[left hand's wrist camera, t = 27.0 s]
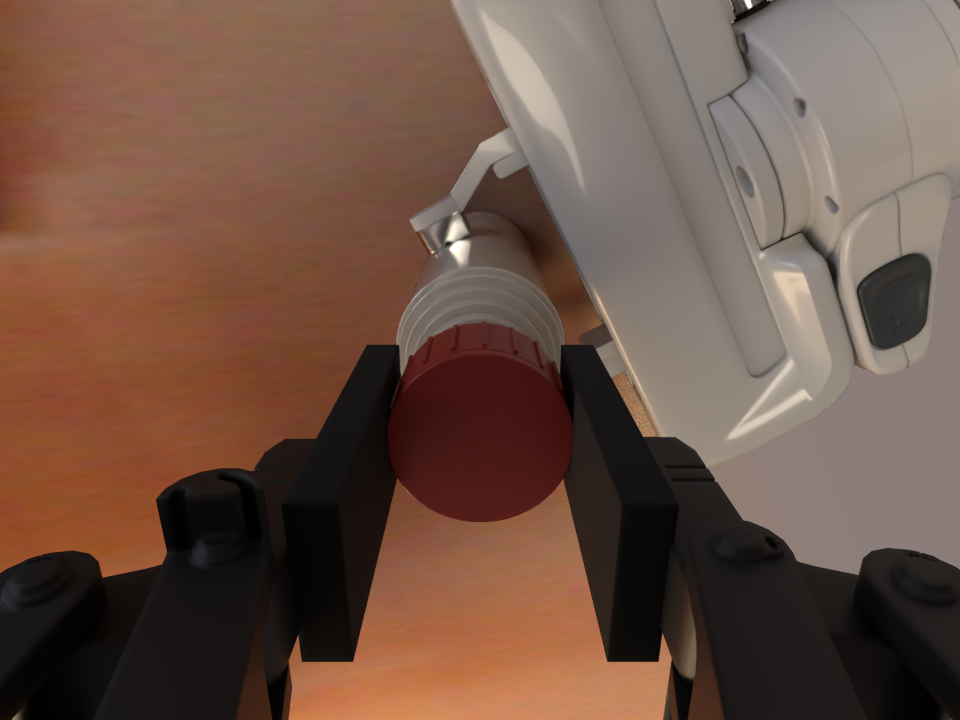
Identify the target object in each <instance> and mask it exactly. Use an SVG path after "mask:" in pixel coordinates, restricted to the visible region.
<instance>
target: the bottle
mask: <svg viewBox="0 0 960 720" xmlns="http://www.w3.org/2000/svg"><path fill="white" fill-rule="evenodd" d="M465 215H466V217H467V219H468V221H469V223H470V225H471V234H469V235H467V236H466V237H464V238H462V239H460V240H458V241H455V242H448V241H447V243H446V245H445V247H444V248H442V249H441V250H439V251H438V252H436V253H433V254H431V255H428V257H427V259H426V262H425V264H424V266H423V268H422V271H421V273H420V275H419V278H418V280H417V282H416V285H415V287H414V289H413V292H412V294H411V296H410V299H409V301H408V303H407V306H406V308H405V310H404V313H403V315H402V317H401V320H400V323H399V326H398V331H397V336H396V345H399V349H400V369H401V375H403V373H404V370H405V368H406V365H407V362H408V359H409V356H410V355H412V356H413V355H414V354H415V353H416V351H417V350H418V349H419V348H420V347H421V346H422V345H423V344H424V343H425V342H426V341H427V340H428V337H430V336H432V337H434V336H435V335H437V334H439V333H441V332H443V331H444V330H447V329H450V328H452V327H453V326H454V325H455V324H457V325H458V326H459V325H464V324H471V323H482V321H486V323H490V324H497V325H502V326H505V327H509V328H510V327H511V326H512V327H514V329H515V330H516V331H518V332H521V333H522V334H524V335H526V336H527V337H529V338H530V339H532V340H533V341H535V340H536V341H538V343H539V346H540V347H541V348H542V349H543V350H544V351H545V352H546V354H547V355H548V357H549V358H550V359H551V361H555V363H556V366H557V369H558V372H559V375H560V357H561V345H565V338H564V331H563V327H562V323H561V320H560V318H559V315H558V313H557V311H556V308H555V306H554V304H553V301H552V299H551V297H550V294H549V292H548V290H547V287H546V285H545V283H544V281H543V278H542V276H541V274H540V271H539V269H538V267H537V264H536V262H535V260H534V257H533V255H532V253H531V250H530V248H529V246H528V243H527V241H526V239H525V237H524V236H523V234H522V233H521V231H520V230H519V229H518V228H517V227H516V226H515V225H514V224H513V223H512V222H510V221H509V220H508V219H506V218H504V217H502V216H500V215H497V214H494V213H490V212H471V213H467V214H465Z"/></svg>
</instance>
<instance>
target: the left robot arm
mask: <svg viewBox="0 0 960 720" xmlns="http://www.w3.org/2000/svg"><path fill="white" fill-rule="evenodd" d="M399 378H400V379H401V369H400V349H399V345H367V346H366V348H365V349H364V351H363V353H362V355H361V357H360V359H359V361H358V362H357V364H356V366H355V368H354V370H353V372H352V374H351V375H350V377H349V379H348V381H347V383H346V385H345V387H344V388H343V390H342V392H341V394H340V396H339V398H338V400H337V402H336V403H335V405H334V407H333V409H332V411H331V413H330V415H329V416H328V418H327V420H326V422H325V424H324V426H323V428H322V429H321V431H320V433H319V435H318V437H317V439H284V440H283V441H281V442H280V443H278V444H277V445H275V446H274V447H272V448H271V449H269V450H268V451H266V452H265V453H264V455H263V456H262V458H261V459H260V461H259V462H258V464H257V465H256V467H255V471H252V472H251V471H247V470H244V469H240V468H220V469H215V470H209V471H204V472H200V473H197V474H194V475H191V476H188V477H186V478H183V479H181V480H179V481H177V482H176V483H174V484H172V485H171V486H169V487H167V488H166V489H165V490H164V491H163V492H162V493H161V494H160V496H159V497H158V498H157V499H156V502H157V507H158V512H159V516H160V521H161V526H162V530H163V535H164V539H165V544H166V549H167V555H166V557H165V560H164V562H163V564H162V565H158V566H155V567H151V568H147V569H143V570H138V571H133V572H128V573H123V574H119V575H114V576H109V577H104V578H103V577H102V574H101V570H100V566H99V562H98V561H97V560H96V559H95V558H94V557H93V556H92V555H90V554H88V553H83V552H78V551H65V552H53V553H48V554H43V555H42V556H36V557H33V558H30V559H27V560H25V561H24V562H22V563H19V564H17V565H15V566H13V567H11V568H8V569H6V570H5V571H3V572H2V573H0V720H288V719H289V710H290V701H291V692H292V683H291V676H290V668H289V658H290V656H291V653H292V650H293V647H294V645H295V642H296V639H297V636H299V643H300V651H301V658H302V662H353V660H354V655H355V651H356V647H357V643H358V639H359V635H360V630H361V626H362V622H363V618H364V614H365V610H366V605H367V601H368V597H369V593H370V589H371V585H372V581H373V576H374V572H375V568H376V564H377V560H378V556H379V551H380V547H381V543H382V539H383V535H384V531H385V527H386V522H387V518H388V514H389V510H390V506H391V502H392V497H393V493H394V489H395V485H396V481H397V476H396V474H395V472H394V470H393V468H392V466H391V463H390V459H389V446H388V427H387V423H388V420H389V416H390V412H391V411H390V405H391V402H392V399H393V396H394V393H395V390H396V387H397V384H398V381H399ZM560 378H561V381H562V384H563V387H564V394H565V397H566V400H567V404H568V407H569V410H570V413H571V416H572V420H573V436H572V453H571V463H570V465H569V468H568V470H567V472H566V474H565V476H564V477H563V479H564V483H565V488H566V492H567V496H568V500H569V504H570V508H571V512H572V517H573V521H574V525H575V529H576V533H577V537H578V542H579V546H580V550H581V554H582V558H583V562H584V566H585V571H586V575H587V579H588V583H589V587H590V591H591V596H592V600H593V604H594V608H595V612H596V616H597V620H598V625H599V629H600V633H601V637H602V641H603V645H604V650H605V654H606V658H607V662H658V661H659V654H660V646H661V639H662V632H663V635H664V638H665V640H666V643H667V646H668V649H669V651H670V654H671V657H672V661H671V668H670V675H669V683H668V690H667V697H666V704H665V711H664V718H663V720H951V719H952V720H960V570H959V569H958V568H956V567H955V566H953V565H950V564H948V563H946V562H944V561H941V560H939V559H937V558H936V557H934V556H931V555H928V554H924V553H919V552H917V551H912V550H905V549H893V548H885V549H880V550H875V551H871V552H870V553H869V554H868V555H867V556H865V557H864V558H863V560H862V564H861V568H860V572H859V575H855V574H850V573H845V572H840V571H835V570H830V569H825V568H821V567H816V566H812V565H808V564H804V563H801V562H798V561H796V559H795V556H794V554H793V552H792V551H791V549H790V548H789V547H788V545H787V544H786V543H785V541H784V540H783V539H781V538H780V537H778V536H777V535H775V534H774V533H773V532H771V531H770V530H768V529H766V528H764V527H761V526H759V525H756V524H754V523H752V522H748V521H744V520H743V519H742V518H741V517H740V515H739V514H738V512H737V511H736V509H735V508H734V506H733V505H732V503H731V502H730V500H729V499H728V497H727V496H726V494H725V493H724V492H723V490H722V489H721V487H720V486H719V484H718V483H717V482H715V478H714V477H713V475H712V474H711V472H710V471H709V469H706V465H705V464H704V462H703V461H702V459H701V458H700V456H699V455H698V453H697V452H696V450H694V449H693V448H691V447H690V446H688V445H687V444H685V443H684V442H682V441H681V440H679V439H678V438H676V437H643V436H642V434H641V432H640V431H639V429H638V427H637V425H636V423H635V421H634V419H633V418H632V416H631V414H630V412H629V410H628V408H627V406H626V404H625V403H624V401H623V399H622V397H621V395H620V393H619V391H618V390H617V388H616V386H615V384H614V382H613V380H612V378H611V377H610V375H609V373H608V371H607V369H606V367H605V365H604V364H603V362H602V360H601V358H600V356H599V354H598V352H597V350H596V349H595V347H594V345H561V357H560Z"/></svg>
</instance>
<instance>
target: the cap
mask: <svg viewBox="0 0 960 720" xmlns="http://www.w3.org/2000/svg"><path fill="white" fill-rule="evenodd" d="M390 411H391V412H390V416H389V420H388V423H387V427H388V446H389V459H390V463H391V466H392V468H393V470H394V472H395V474H396V476H397V478H398V479H399V481H400V482H401V484H402V485H403V487H404V488H405V489H406V490H407V491H408V492H409V493H410V494H411V495H412V496H413V497H414V498H415V499H416V500H417V501H419V502H420V503H421V504H423V505H424V506H426V507H427V508H429V509H431V510H433V511H435V512H437V513H439V514H441V515H444V516H447V517H449V518H453V519H457V520H462V521H469V522H492V521H499V520H504V519H508V518H511V517H514V516H517V515H520V514H522V513H524V512H526V511H528V510H530V509H532V508H533V507H535V506H537V505H538V504H540V503H541V502H542V501H543V500H545V499H546V498H547V497H548V496H549V495H550V494H551V493H552V492H553V491H554V490H555V489H556V487H557V486H558V485H559V483H560V482H561V481H562V479H563V477H564V476H565V474H566V472H567V470H568V468H569V465H570V463H571V453H572V436H573V420H572V416H571V413H570V410H569V407H568V404H567V400H566V397H565V394H564V387H563V384H562V381H561V378H560V375H559V372H558V369H557V366H556V363H555V361H551V359H550V358H549V357H548V355H547V354H546V352H545V351H544V350H543V349H542V348H541V347H540V346H539V343H538V341H536V340H535V341H533V340H532V339H530V338H529V337H527V336H526V335H524V334H522V333H521V332H518V331H516V330H515V329H514V327H512V326H511V327H510V328H509V327H505V326H502V325H497V324H490V323H486V321H482V323H471V324H464V325H459V326H458V325H457V324H455V325H454V326H453V327H452V328H450V329H447V330H444V331H443V332H441V333H439V334H437V335H435V336H434V337H432V336H430V337H428V340H427V341H426V342H425V343H424V344H423V345H422V346H421V347H420V348H419V349H418V350H417V351H416V353H415V354H414V355H413V356H412V355H410V356H409V359H408V362H407V365H406V368H405V370H404V373H403V375H402V378H401V379H400V378H399V381H398V384H397V387H396V390H395V393H394V396H393V399H392V402H391V405H390Z"/></svg>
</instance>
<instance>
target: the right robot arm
mask: <svg viewBox="0 0 960 720" xmlns="http://www.w3.org/2000/svg"><path fill="white" fill-rule="evenodd" d="M450 5H451V8H452V11H453V14H454V16H455V18H456V20H457V23H458V25H459V27H460V29H461V31H462V33H463V35H464V37H465V39H466V41H467V43H468V46H469V48H470V50H471V52H472V54H473V56H474V58H475V60H476V62H477V64H478V66H479V68H480V71H481V73H482V75H483V77H484V79H485V81H486V83H487V85H488V87H489V89H490V91H491V93H492V95H493V98H494V100H495V102H496V104H497V106H498V108H499V110H500V112H501V114H502V116H503V118H504V120H505V123H506V125H507V128H505V129H504V130H502V131H500V132H498V133H497V134H495V135H493V136H491V137H490V138H488V139H486V140H484V141H483V142H481V143H480V144H479V145H478V147H477V149H476V150H475V152H474V154H473V155H472V157H471V159H470V160H469V162H468V164H467V165H466V167H465V169H464V170H463V172H462V174H461V176H460V177H459V179H458V181H457V182H456V184H455V186H454V187H453V189H452V191H451V193H450V195H448V196H446V197H444V198H443V199H441V200H439V201H437V202H435V203H434V204H432V205H430V206H428V207H426V208H424V209H423V210H421V211H419V212H418V213H416V214H415V215H413V216H412V217H411V218H410V219H409V221H410V222H411V224H412V226H413V228H414V230H415V232H416V233H417V235H418V237H419V238H420V240H421V242H422V244H423V245H424V247H425V249H426V250H427V252H428V254H429V255H431V254H433V253H436V252H438V251H439V250H441V249H442V248H444V247H445V245H446V243H447V241H448V242H455V241H458V240H460V239H462V238H464V237H466V236H467V235H469V234H471V225H470V223H469V221H468V219H467V217H466V215H465V214H464V212H463V209H464V208H465V206H466V205H467V203H468V201H469V200H470V198H471V196H472V195H473V193H474V191H475V190H476V188H477V186H478V185H479V183H480V182H481V180H482V178H483V177H484V175H485V173H486V172H487V170H488V168H489V167H490V165H492V167H493V170H494V172H495V173H496V175H497V177H498V178H500V179H503V178H505V177H507V176H509V175H510V174H512V173H514V172H516V171H518V170H520V169H522V168H524V167H526V166H527V168H528V170H529V172H530V175H531V177H532V179H533V181H534V183H535V185H536V187H537V189H538V191H539V193H540V195H541V197H542V199H543V202H544V204H545V206H546V208H547V210H548V212H549V214H550V216H551V218H552V220H553V222H554V224H555V227H556V229H557V231H558V233H559V235H560V237H561V239H562V241H563V243H564V245H565V247H566V249H567V251H568V254H569V256H570V258H571V260H572V262H573V264H574V266H575V268H576V270H577V272H578V274H579V276H580V279H581V281H582V283H583V285H584V287H585V289H586V291H587V293H588V295H589V297H590V299H591V301H592V303H593V306H594V308H595V310H596V312H597V314H598V316H599V318H600V320H601V322H602V325H600V326H598V327H596V328H594V329H592V330H590V331H588V332H586V333H584V334H582V335H580V337H579V341H580V343H581V345H594V347H595V349H596V350H597V352H598V354H599V356H600V358H601V360H602V362H603V364H604V365H605V367H606V369H607V371H608V373H609V375H610V377H611V378H612V377H615V376H617V375H619V374H621V373H623V372H626V374H627V376H628V378H629V380H630V383H631V385H632V387H633V389H634V391H635V393H636V395H637V397H638V399H639V401H640V403H641V405H642V407H643V410H644V412H645V414H646V416H647V418H648V420H649V422H650V424H651V426H652V428H653V430H654V432H655V434H656V436H657V437H676V438H678V439H679V440H681V441H682V442H684V443H685V444H687V445H688V446H690V447H691V448H693V449H694V450H696V452H697V453H698V455H699V456H700V458H701V459H702V461H703V462H704V464H705V465H706V468H707V467H712V466H715V465H718V464H721V463H723V462H726V461H729V460H731V459H733V458H736V457H738V456H740V455H743V454H745V453H747V452H749V451H751V450H753V449H756V448H758V447H760V446H762V445H764V444H766V443H768V442H770V441H772V440H774V439H776V438H778V437H780V436H782V435H784V434H786V433H788V432H790V431H792V430H794V429H795V428H797V427H799V426H801V425H803V424H805V423H806V422H808V421H810V420H812V419H813V418H815V417H817V416H818V415H820V414H821V413H823V412H824V411H826V410H827V409H828V408H829V407H831V406H832V405H833V404H834V403H835V402H836V401H837V400H838V399H839V398H840V397H841V396H842V395H843V393H844V392H845V391H846V389H847V387H848V386H849V384H850V382H851V379H852V376H853V372H854V364H855V365H857V366H858V367H861V368H863V369H865V370H867V371H869V372H872V373H874V374H877V375H889V374H893V373H896V372H899V371H901V370H903V369H906V368H908V367H910V366H912V365H914V364H916V363H917V362H919V361H920V360H921V359H922V358H923V357H924V356H925V355H926V353H927V351H928V349H929V346H930V343H931V337H932V328H933V315H934V303H935V292H936V283H937V275H938V267H939V260H940V254H941V248H942V243H943V237H944V232H945V228H946V224H947V220H948V216H949V212H950V207H951V201H952V200H954V199H956V198H958V197H959V196H960V0H773V1H771V2H770V1H768V2H767V0H450ZM735 16H736V19H735V20H734V23H732V24H731V23H730V21H731V20H733V19H734V18H735Z"/></svg>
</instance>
